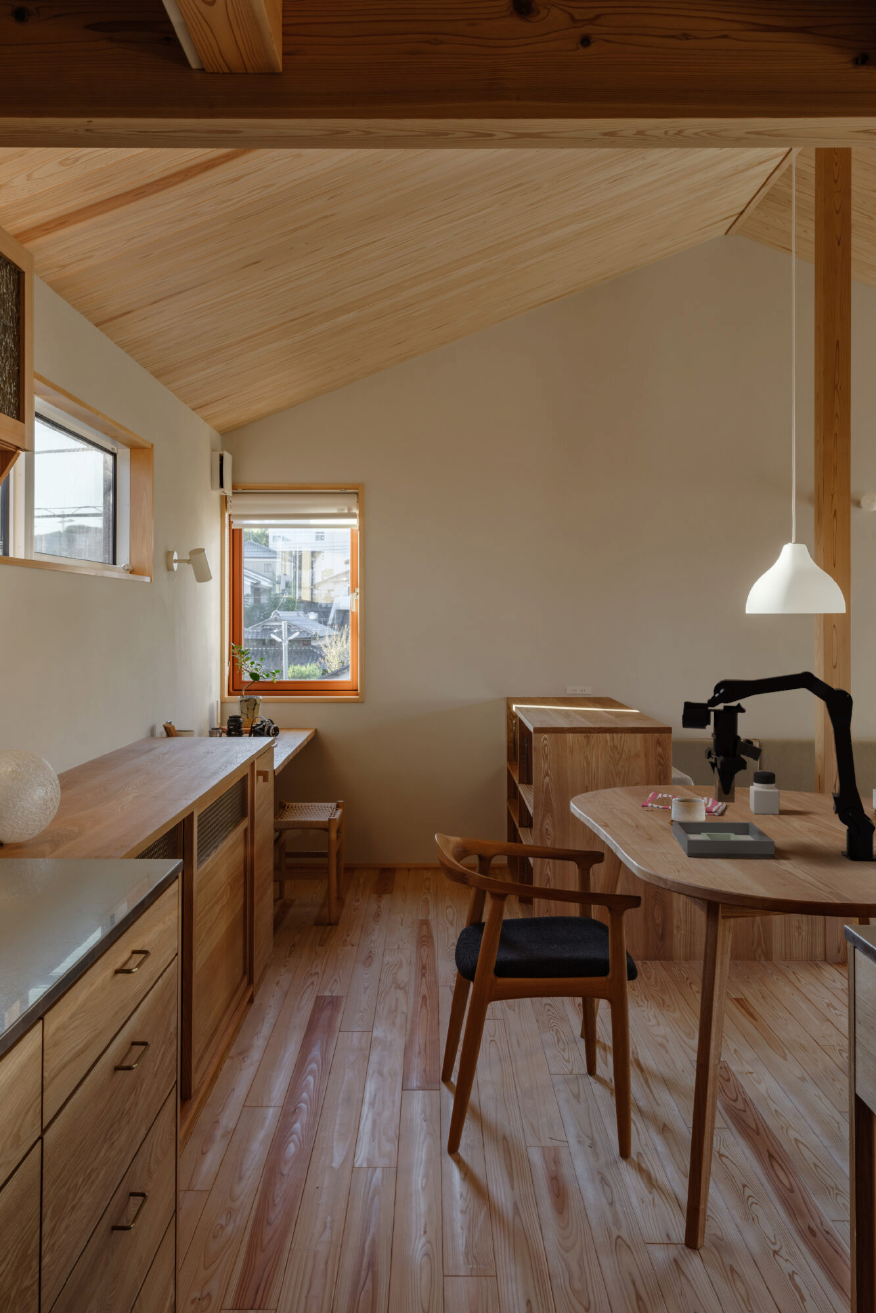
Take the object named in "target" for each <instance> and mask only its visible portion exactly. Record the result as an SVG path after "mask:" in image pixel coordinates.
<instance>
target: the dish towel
mask: <svg viewBox="0 0 876 1313" xmlns="http://www.w3.org/2000/svg"><path fill="white" fill-rule="evenodd" d="M649 797H650V798H649ZM659 797H660V798H662V797H671V799H673V798H674V797H677V796H676V795H672V794H665V793H658V792H656V791H652V792H651V793H649V795H648V798H649V799H648V798H647V800H646V801H642V802H641V805H640V806H641V808H644V807H653V808H659V809H669V810H670V809H671V806H660V805H655V804H651V801H653V799H658V798H659ZM678 797H681V795H680V796H678ZM699 797H700V798H702V799H704V801H705V803H706V807H705V809H706V815H705V816H714V817H715V816H720V815H721V814H722V812H723V811H724V810H725V809H726V806H727V802H717V801H716V800H715V799H714V797H705V796H703V797H701V796H699Z"/></svg>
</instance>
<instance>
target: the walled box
mask: <svg viewBox="0 0 876 1313" xmlns="http://www.w3.org/2000/svg"><path fill="white" fill-rule="evenodd" d="M673 836H674V838H675V839H676V841H677V842H678V843H679V845H680V846H681V847H682V849H683V850H682V849H681V850H682V852H683V851H684V852H685V853H686V854H685V853H684V852H683V853H684V854H685V856H686V855H687V856H690V857H689V858H729V859H731V858H735V859H737V858H740V859H775V840H773V838H771V837H770V836H769V835H768V834H766V833H765V832H764V831H763V830H761V829H760V828H759V827H758V826H757V825H756V824H754V823H753V822H751V821H749V822H747V821H745V822H744V821H741V822H740V821H672V837H673ZM674 838H673V839H674ZM675 839H674V840H675ZM676 841H675V842H676ZM677 842H676V843H677ZM678 843H677V844H678ZM679 845H678V846H679ZM680 846H679V847H680ZM681 847H680V848H681ZM687 856H686V857H687ZM691 856H692V857H691Z"/></svg>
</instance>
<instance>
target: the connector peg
mask: <svg viewBox="0 0 876 1313" xmlns="http://www.w3.org/2000/svg"><path fill="white" fill-rule="evenodd" d="M713 789H714V793H713V794H714V796H713V798H714V799H715V800H716V801H717V802H726V803H732V804H733V803H736V802H735V800H736V797H735V796H736V794H735V793H736V790H735V789H736V775H735V776H734V779H733V782H732V786H731V789H730V792H729V794H728V795H725V794H724V792H723V790H722V787H721V784H720V781H719V778H718V775H717V772H716V769H715V777H714V788H713Z"/></svg>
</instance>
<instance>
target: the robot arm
mask: <svg viewBox="0 0 876 1313" xmlns="http://www.w3.org/2000/svg"><path fill="white" fill-rule="evenodd" d="M800 689H801V690H802V689H806V690H807V691H809V692H810V693H812V694H813V695H815V696H816V697H817V698H819V699H820V700H822V701H823V702H824V705H825V708H826V711H827V713H828V717H829V720H830V723H831V727H832V732H833V742H834V750H835V751H834V752H835V761H836V771H837V779H838V789H837V792H833V791H832V792H831V795H832V799H833V806H832V809H833V813H834V815H837V817H838V819H839V821H840V822H841V823H842V824H843V825H844V826H847V829H846V830H845V831H846V838H845V840H846V842H845V843H846V844H845V845H846V850H840V853H841V854H842V855H843V856H844V857H846V858H847V859H849V860H851V861H876V855H875V853H874V843H875V842H874V841H875V840H874V839H875V838H874V836H875V835H874V833H875V831H876V826H875V824H874V822H873V819H871V817H870V816H868V815H867V814H866V813H865V809H864V806H863V803H862V798H861V797H860V793H859V790H858V787H857V781H856V779H857V778H856V770H855V761H854V752H853V750H854V749H853V743H852V733H851V732H852V731H851V723H852V717H853V707H854V700H853V697H852V695H851V694H850V692H848V691H847V690H846V689H844V688H839V687H833V686H831V685H829V684H828V683H826V682H825V681H823V680H822V679H820V678H819V677H817V676H815V675H814V673H813V672H811V671H807V670H805V671H802V672H799V673H797V672H796V673H791V674H785V675H778V676H777V675H776V676H771V677H770V676H768V677H764V678H756V679H738V678H737V679H736V678H733V679H731V678H730V679H729V678H727V679H725V678H724V679H722V680H720V681H718V682H717V683H716V684H715V686H714V687H713V695H712V696H711V698H708V699H707V701H706V702H695V701H689V700H687V701H684V702H683V708H682V709H683V711H682V715H681V725H682V728H683V729H694V730H696V729H697V730H707V727H708V726H711V725H712V713H713V725H712V727H713V729H712V730H713V731H712V732H711V738H712V739H713V740H712V747H711V746H708V747H707V748H706V749H705V750H704V758H705V759H706V760H708V761H707V763H708V765H709V767H710V770H711V771H712V774H713V776H714V778H715V769H716V772H717V775H718V778H719V781H720V784H721V787H722V790H723V792H724V794H725V795H728V794H729V792H730V789H731V786H732V782H733V779H734V776H735V777H736V775H737V774H738V773H739V772H741V771H747V770H748V761H746V759H745V758H744V757H747V758H749V759H752V761H756V762H759V760H760V757H761V755H762V752H763V749H762V748H761V747H759V746H755V745H754V741H753V740H750V739H748V738H745V739H743V740H742V737H741V736H740V735H739V734H738V732H739V731H738V730H739V729H738V728H739V726H738V725H739V723H738V722H739V714H745V713H746V712H747V709H746V708H745V707H743V705H742V704H741V702H738V701H741V700H745V699H746V698H749V697H753V696H756V695H757V696H758V695H763V694H771V693H778V692H785V691H786V692H787V691H793V690H800ZM735 702H738V703H737V704H736V705H730V704H731V703H735ZM721 704H723V705H722V708H716V707H718V706H719V705H721ZM724 704H725V705H724ZM742 756H744V757H742ZM710 758H711V761H709V760H710Z"/></svg>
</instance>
